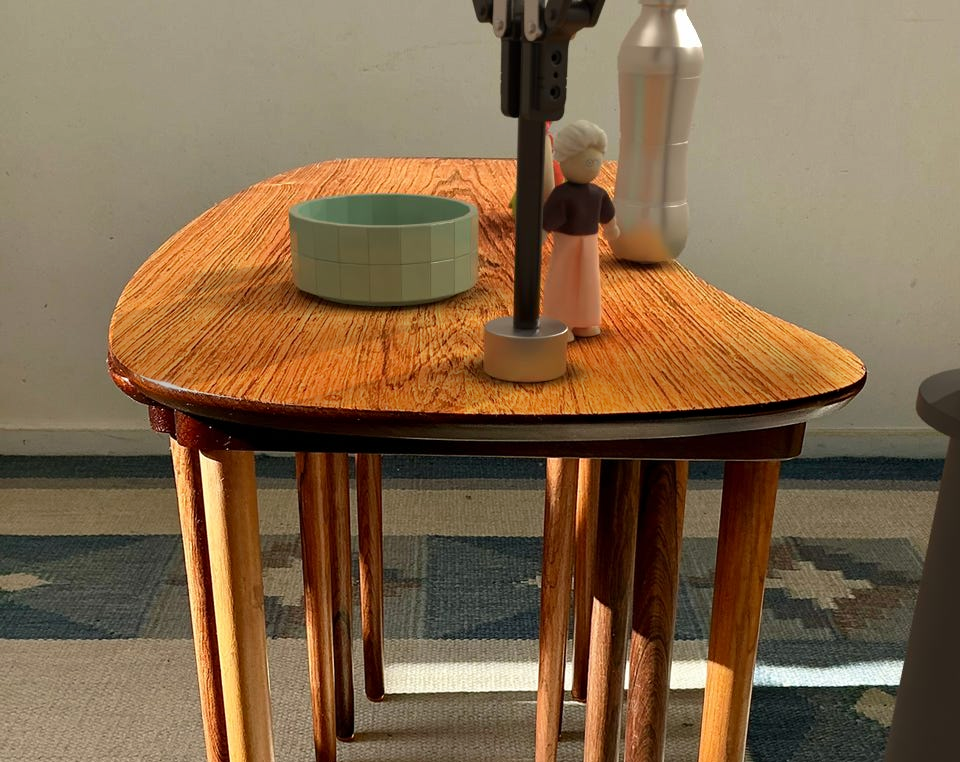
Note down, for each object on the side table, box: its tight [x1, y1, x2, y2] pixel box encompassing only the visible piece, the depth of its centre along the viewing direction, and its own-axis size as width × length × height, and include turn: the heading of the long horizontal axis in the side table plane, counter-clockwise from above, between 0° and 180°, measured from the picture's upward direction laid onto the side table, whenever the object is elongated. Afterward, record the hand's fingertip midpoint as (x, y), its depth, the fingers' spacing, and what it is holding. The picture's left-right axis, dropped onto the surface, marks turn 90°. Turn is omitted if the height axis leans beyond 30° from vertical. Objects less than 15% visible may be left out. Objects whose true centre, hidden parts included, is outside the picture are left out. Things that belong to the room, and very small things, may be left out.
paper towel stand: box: [483, 12, 568, 383], centre depth 67 cm, size 5×5×19 cm
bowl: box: [288, 192, 480, 307], centre depth 87 cm, size 13×13×6 cm
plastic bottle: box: [607, 0, 705, 265], centre depth 92 cm, size 6×7×20 cm
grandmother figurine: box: [541, 119, 620, 343], centre depth 75 cm, size 8×4×13 cm, turn 143°
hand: (531, 117), depth 64 cm, fingers closed on paper towel stand, 1 cm apart
